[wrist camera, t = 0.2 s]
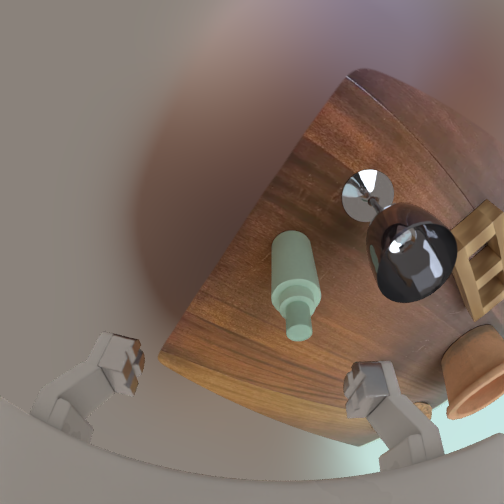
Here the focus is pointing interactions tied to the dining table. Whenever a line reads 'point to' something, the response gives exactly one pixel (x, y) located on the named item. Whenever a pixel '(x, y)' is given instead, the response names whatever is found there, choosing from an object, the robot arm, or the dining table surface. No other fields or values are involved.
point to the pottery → (474, 371)
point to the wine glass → (400, 239)
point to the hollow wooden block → (480, 259)
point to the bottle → (294, 283)
